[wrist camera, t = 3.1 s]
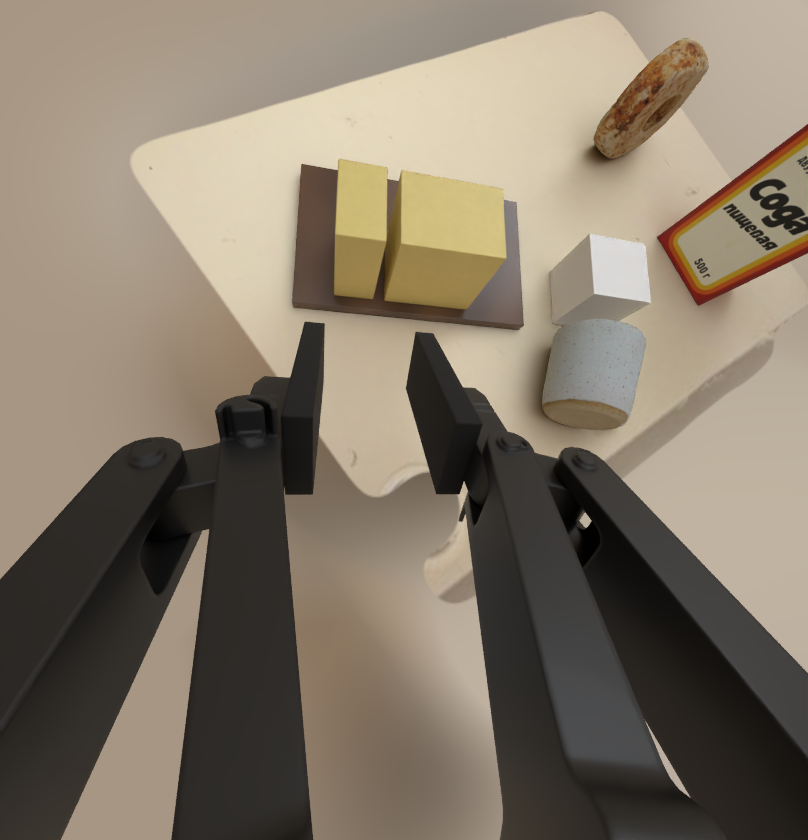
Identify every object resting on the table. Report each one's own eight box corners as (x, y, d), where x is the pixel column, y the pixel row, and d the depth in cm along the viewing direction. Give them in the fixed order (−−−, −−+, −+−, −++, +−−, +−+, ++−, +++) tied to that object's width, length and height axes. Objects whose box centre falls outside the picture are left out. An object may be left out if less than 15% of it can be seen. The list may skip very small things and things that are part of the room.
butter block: (384, 301, 32) (400, 243, 24) (384, 242, 33) (401, 169, 25) (466, 310, 34) (506, 258, 26) (464, 253, 35) (503, 188, 27)
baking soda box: (732, 287, 43) (958, 177, 27) (698, 305, 41) (918, 199, 26) (692, 221, 43) (892, 77, 28) (657, 237, 42) (849, 93, 26)
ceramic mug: (523, 416, 34) (579, 398, 26) (537, 341, 36) (592, 304, 28) (615, 446, 36) (691, 437, 28) (624, 372, 37) (698, 346, 30)
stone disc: (591, 173, 41) (670, 79, 32) (574, 147, 41) (648, 46, 32) (648, 148, 44) (737, 55, 34) (632, 124, 44) (716, 24, 35)
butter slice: (333, 295, 31) (334, 234, 23) (336, 235, 32) (338, 157, 24) (373, 299, 32) (386, 241, 24) (374, 240, 33) (387, 167, 25)
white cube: (602, 330, 38) (651, 303, 32) (552, 323, 37) (594, 294, 31) (598, 279, 39) (645, 244, 33) (549, 271, 38) (589, 233, 32)
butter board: (293, 307, 31) (292, 301, 30) (302, 172, 34) (301, 163, 33) (518, 329, 36) (523, 325, 35) (511, 209, 38) (516, 201, 37)
